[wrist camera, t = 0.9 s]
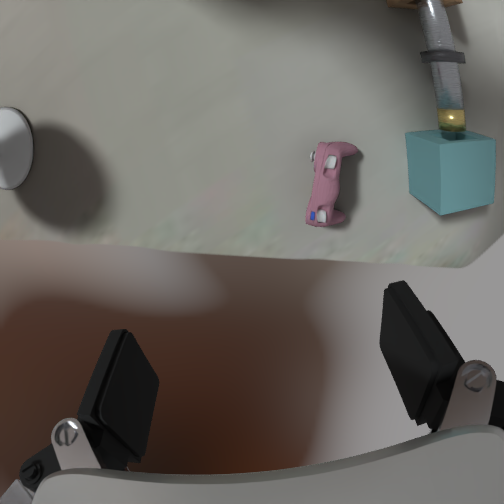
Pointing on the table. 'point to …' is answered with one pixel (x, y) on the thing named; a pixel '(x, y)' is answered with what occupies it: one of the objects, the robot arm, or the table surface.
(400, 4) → the wooden cradle block
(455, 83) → the rod
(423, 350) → the robot arm
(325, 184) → the video game controller
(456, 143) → the socket block
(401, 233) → the table surface
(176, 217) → the table surface
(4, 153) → the chalice
